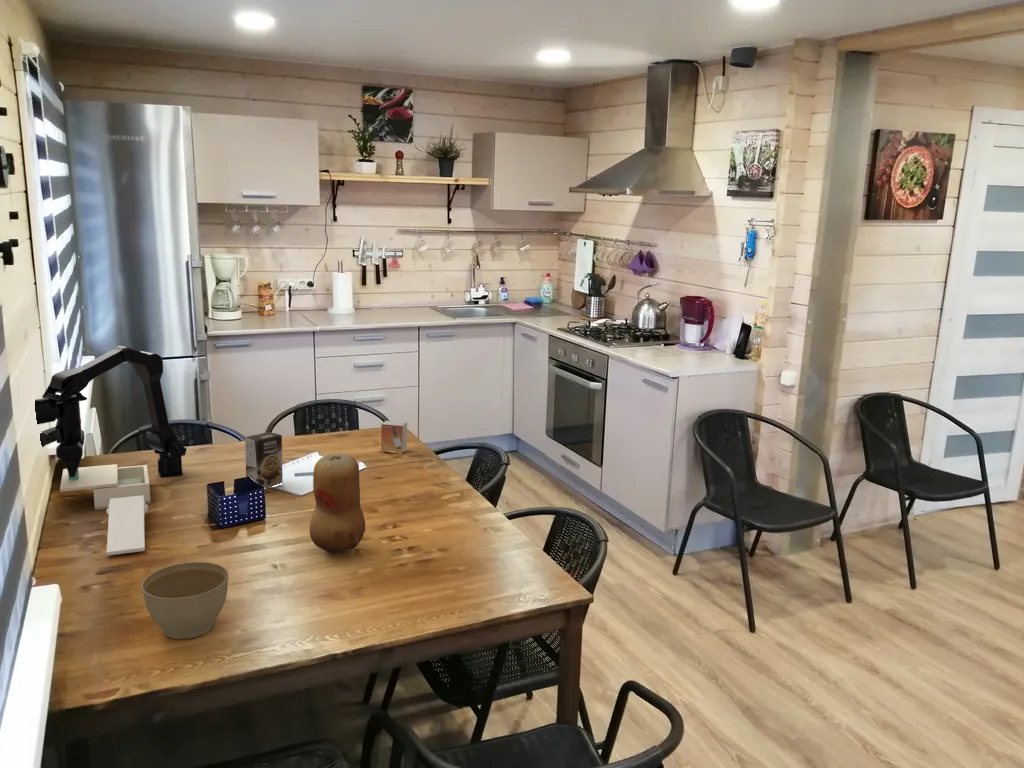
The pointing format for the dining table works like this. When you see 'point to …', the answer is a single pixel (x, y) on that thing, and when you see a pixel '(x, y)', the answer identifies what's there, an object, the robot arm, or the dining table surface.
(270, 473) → the coffee box
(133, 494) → the carton
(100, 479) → the cover panel
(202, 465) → the dining table surface
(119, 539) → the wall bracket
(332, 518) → the butternut squash
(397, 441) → the small box
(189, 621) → the planter bowl
